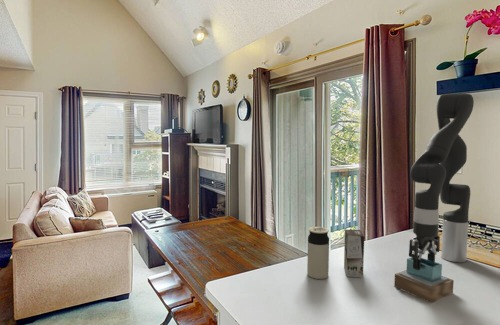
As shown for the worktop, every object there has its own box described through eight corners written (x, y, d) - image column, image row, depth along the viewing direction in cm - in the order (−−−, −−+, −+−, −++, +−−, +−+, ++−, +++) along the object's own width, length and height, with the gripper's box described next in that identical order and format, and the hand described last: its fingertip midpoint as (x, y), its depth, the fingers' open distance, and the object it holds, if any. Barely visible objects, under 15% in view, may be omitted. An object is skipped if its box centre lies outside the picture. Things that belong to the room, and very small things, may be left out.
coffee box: (363, 278, 116) (364, 236, 115) (346, 276, 117) (347, 235, 116) (360, 268, 125) (361, 229, 124) (343, 267, 126) (344, 228, 125)
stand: (416, 278, 116) (416, 265, 115) (452, 292, 104) (453, 278, 104) (394, 286, 109) (394, 272, 109) (431, 302, 98) (431, 287, 98)
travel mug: (332, 274, 118) (333, 229, 117) (321, 281, 113) (322, 233, 111) (314, 269, 124) (315, 225, 123) (303, 275, 118) (304, 229, 117)
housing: (441, 278, 104) (441, 264, 104) (432, 282, 101) (432, 267, 101) (415, 269, 112) (416, 255, 111) (406, 272, 109) (407, 258, 109)
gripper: (424, 226, 98) (422, 275, 99) (448, 220, 106) (446, 266, 107) (402, 221, 105) (401, 267, 106) (426, 216, 112) (425, 259, 113)
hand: (423, 266), depth 106 cm, fingers open, 8 cm apart
